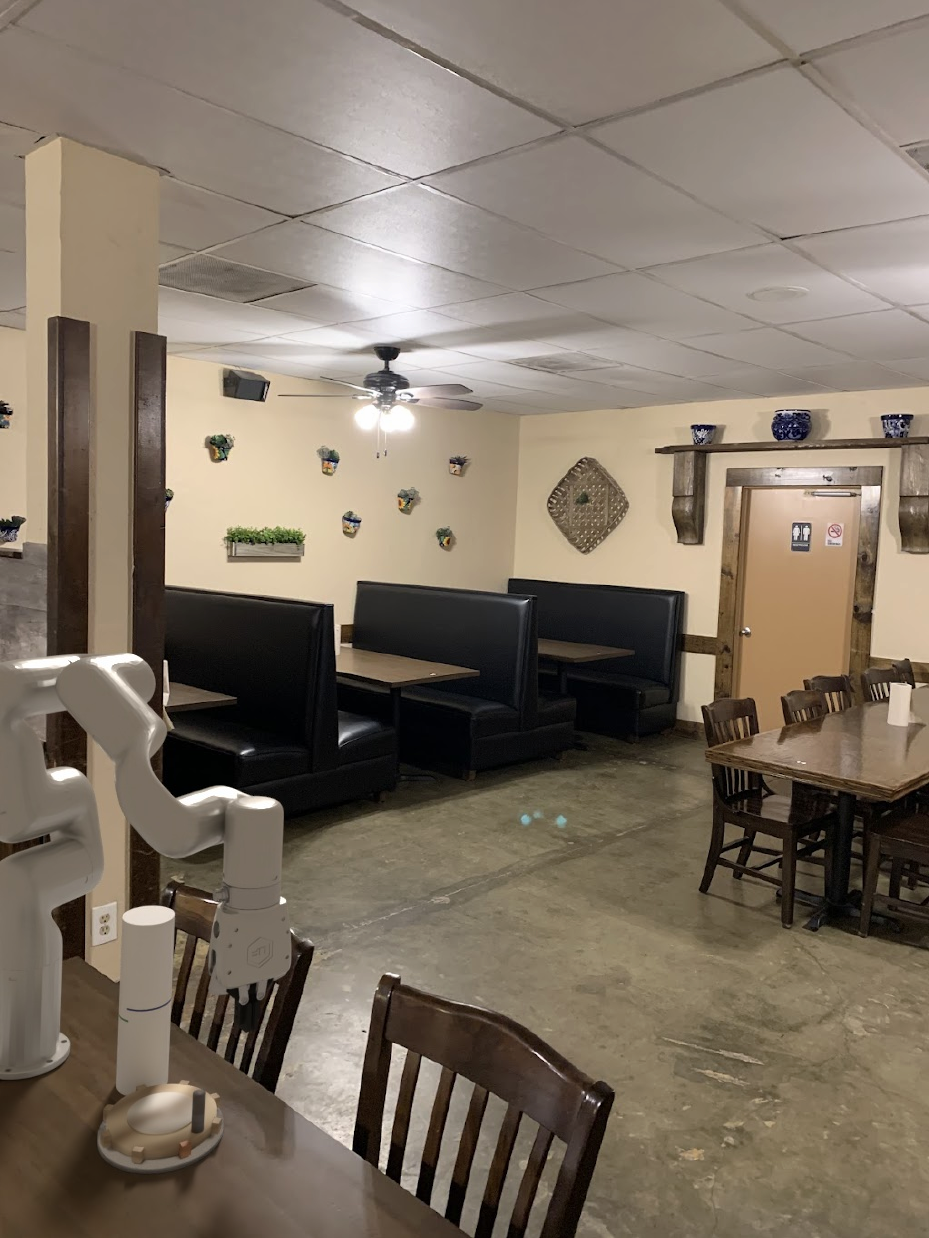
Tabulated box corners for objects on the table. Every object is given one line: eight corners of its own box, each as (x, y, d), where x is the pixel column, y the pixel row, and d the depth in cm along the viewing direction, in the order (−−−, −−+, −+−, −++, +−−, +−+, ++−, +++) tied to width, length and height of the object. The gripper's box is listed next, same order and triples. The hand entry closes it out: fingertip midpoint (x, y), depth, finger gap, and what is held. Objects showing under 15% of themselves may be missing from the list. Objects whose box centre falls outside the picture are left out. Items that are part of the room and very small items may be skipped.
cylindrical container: (151, 1100, 133) (158, 928, 131) (105, 1091, 134) (112, 921, 132) (177, 1073, 140) (184, 909, 138) (133, 1065, 141) (139, 902, 139)
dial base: (70, 1144, 122) (70, 1137, 122) (162, 1085, 136) (162, 1079, 136) (160, 1190, 115) (161, 1182, 115) (248, 1123, 129) (248, 1116, 129)
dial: (75, 1134, 122) (77, 1086, 122) (162, 1079, 136) (164, 1036, 135) (161, 1176, 115) (163, 1126, 115) (243, 1114, 129) (246, 1069, 128)
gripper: (210, 913, 116) (205, 1056, 118) (315, 890, 126) (310, 1023, 127) (185, 894, 122) (181, 1031, 123) (288, 873, 132) (282, 1001, 133)
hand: (246, 1026), depth 125 cm, fingers closed
